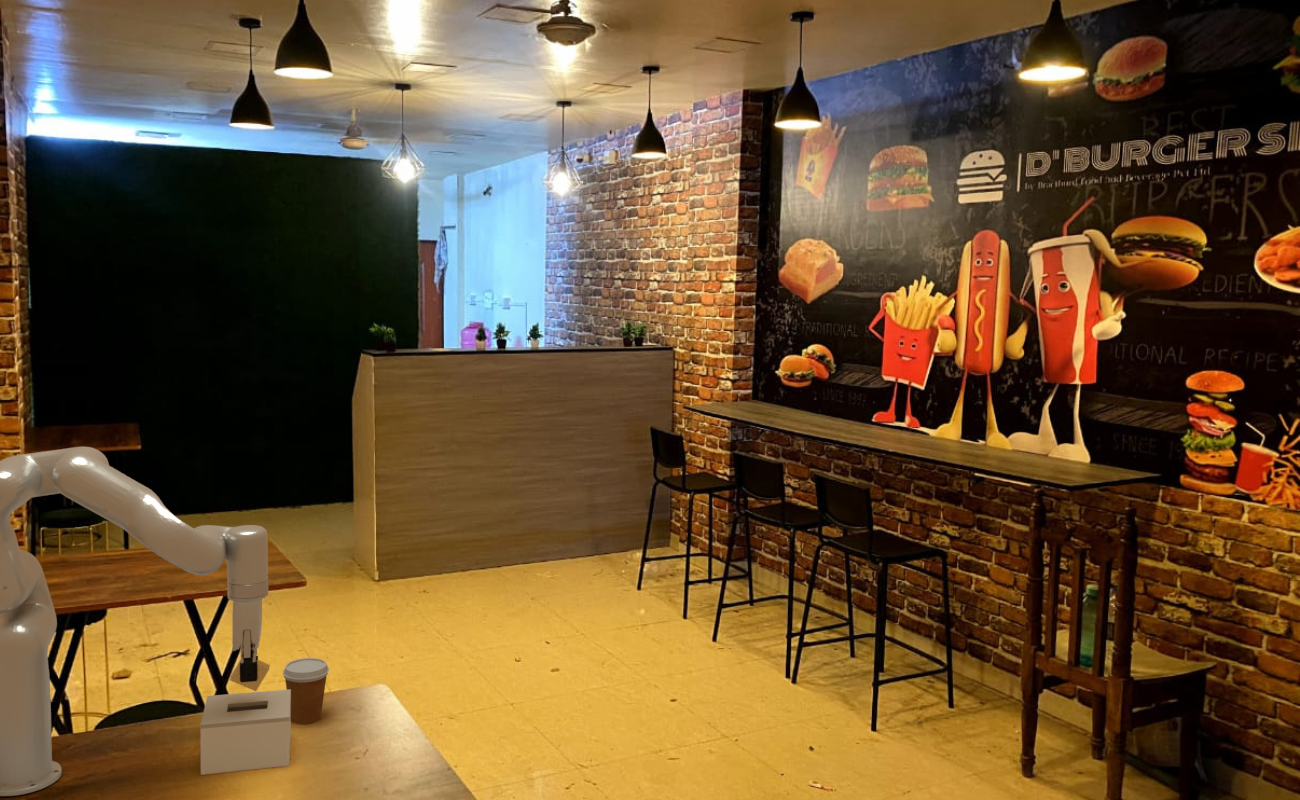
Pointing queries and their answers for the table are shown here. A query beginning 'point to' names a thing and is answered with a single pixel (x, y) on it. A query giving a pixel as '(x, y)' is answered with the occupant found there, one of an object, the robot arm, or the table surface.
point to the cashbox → (246, 731)
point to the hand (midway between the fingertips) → (249, 677)
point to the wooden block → (261, 673)
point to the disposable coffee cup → (306, 688)
